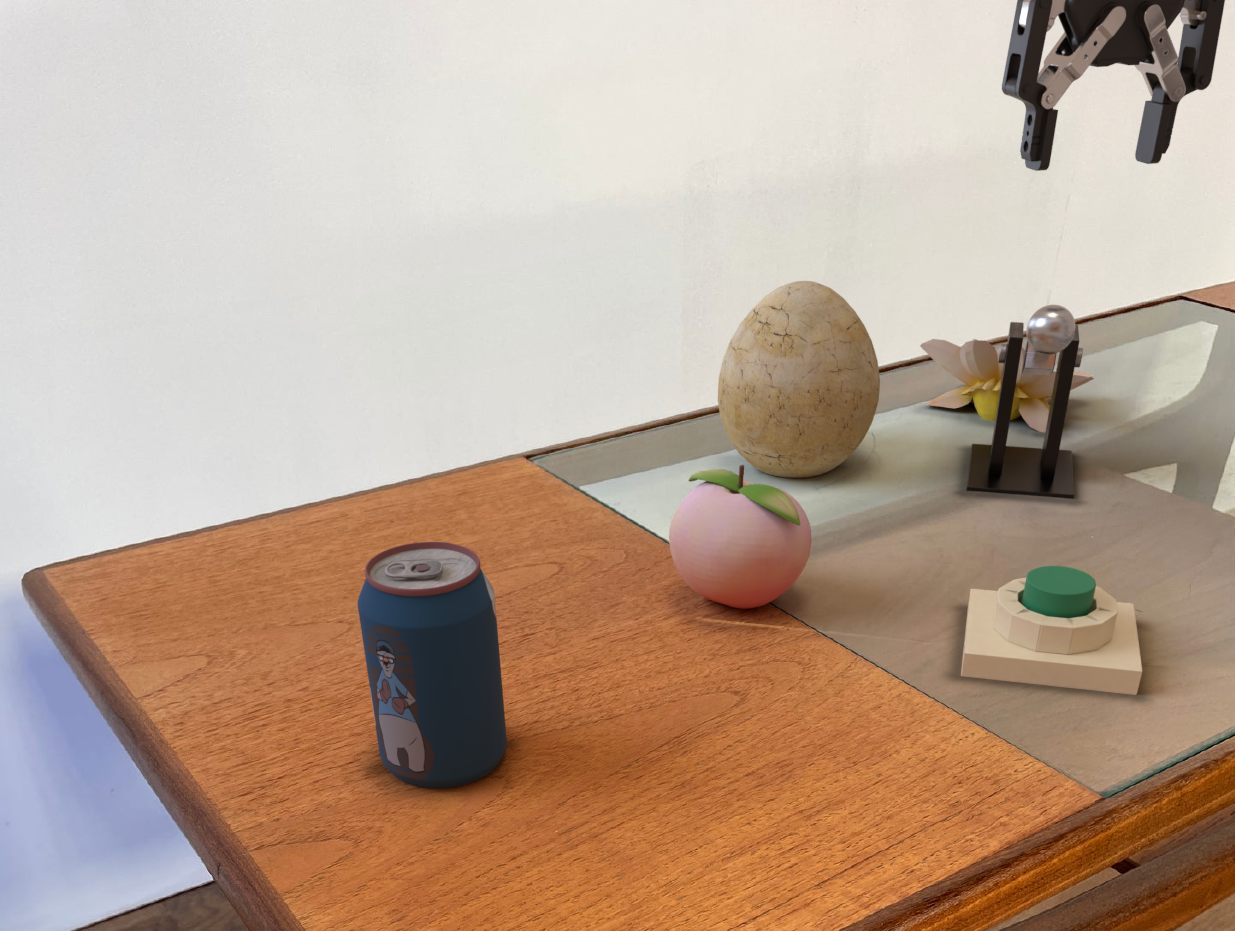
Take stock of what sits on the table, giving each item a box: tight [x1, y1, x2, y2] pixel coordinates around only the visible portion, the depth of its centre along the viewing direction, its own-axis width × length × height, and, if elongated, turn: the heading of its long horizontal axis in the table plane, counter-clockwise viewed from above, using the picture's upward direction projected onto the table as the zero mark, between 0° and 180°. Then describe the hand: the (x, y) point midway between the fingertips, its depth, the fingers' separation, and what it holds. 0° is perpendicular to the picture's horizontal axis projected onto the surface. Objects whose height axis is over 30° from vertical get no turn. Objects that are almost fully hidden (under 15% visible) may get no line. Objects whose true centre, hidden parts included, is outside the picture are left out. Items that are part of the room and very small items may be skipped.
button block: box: [960, 577, 1143, 696], centre depth 78 cm, size 10×9×4 cm
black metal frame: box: [966, 321, 1084, 500], centre depth 100 cm, size 10×8×12 cm
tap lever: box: [1022, 304, 1076, 376], centre depth 93 cm, size 13×3×3 cm, turn 165°
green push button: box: [1022, 565, 1097, 618], centre depth 77 cm, size 4×4×2 cm
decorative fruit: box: [668, 464, 812, 610], centre depth 82 cm, size 9×8×10 cm
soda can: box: [357, 541, 508, 789], centre depth 67 cm, size 7×7×12 cm
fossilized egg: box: [717, 280, 881, 479], centre depth 101 cm, size 13×13×15 cm
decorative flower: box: [919, 338, 1095, 433], centre depth 113 cm, size 15×11×10 cm
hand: (1092, 165), depth 90 cm, fingers open, 8 cm apart
